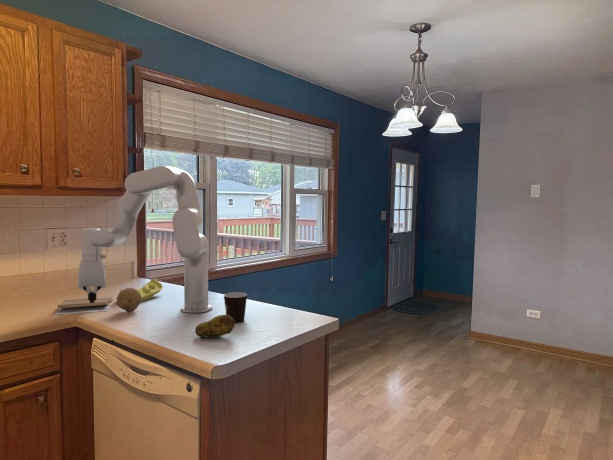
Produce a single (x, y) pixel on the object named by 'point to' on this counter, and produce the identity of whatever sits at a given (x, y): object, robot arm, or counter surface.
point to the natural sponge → (129, 299)
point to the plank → (83, 304)
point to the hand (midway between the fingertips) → (92, 301)
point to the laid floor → (84, 308)
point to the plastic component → (149, 289)
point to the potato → (216, 326)
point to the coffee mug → (235, 305)
